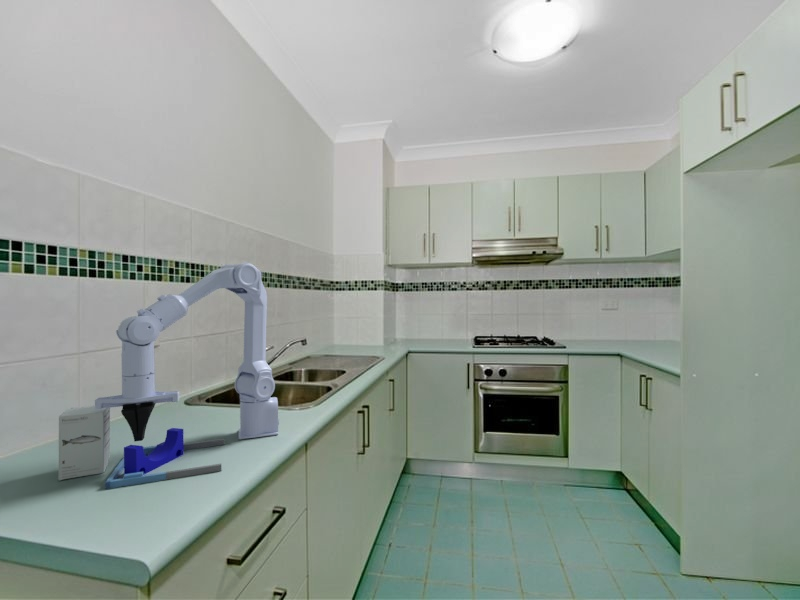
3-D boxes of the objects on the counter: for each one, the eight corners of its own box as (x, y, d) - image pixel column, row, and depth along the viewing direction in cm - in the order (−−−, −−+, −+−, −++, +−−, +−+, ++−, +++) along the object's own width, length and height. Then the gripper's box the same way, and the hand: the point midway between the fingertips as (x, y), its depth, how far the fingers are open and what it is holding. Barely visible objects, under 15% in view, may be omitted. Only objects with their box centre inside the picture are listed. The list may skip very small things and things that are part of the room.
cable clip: (167, 453, 90) (166, 427, 90) (183, 455, 89) (183, 428, 89) (118, 477, 79) (117, 446, 78) (136, 479, 77) (136, 448, 77)
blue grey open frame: (224, 443, 96) (224, 436, 96) (221, 470, 80) (221, 462, 80) (128, 456, 88) (128, 448, 88) (105, 489, 73) (104, 480, 73)
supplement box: (57, 482, 76) (56, 416, 76) (68, 467, 83) (67, 407, 83) (104, 473, 80) (103, 411, 80) (111, 460, 86) (110, 402, 86)
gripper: (180, 368, 88) (181, 429, 89) (102, 373, 83) (103, 438, 83) (176, 373, 82) (176, 439, 82) (90, 379, 77) (91, 449, 77)
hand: (139, 439), depth 82 cm, fingers closed
